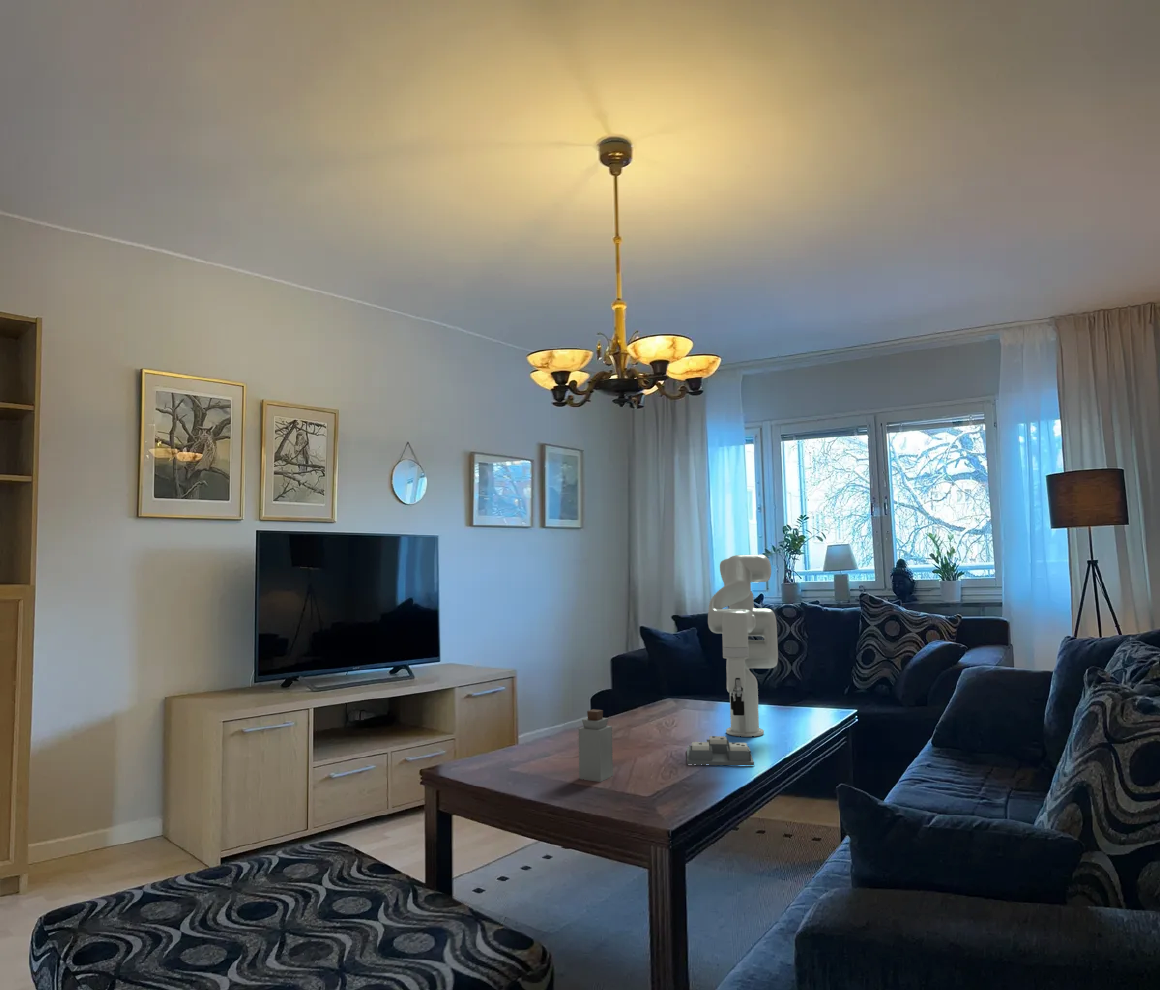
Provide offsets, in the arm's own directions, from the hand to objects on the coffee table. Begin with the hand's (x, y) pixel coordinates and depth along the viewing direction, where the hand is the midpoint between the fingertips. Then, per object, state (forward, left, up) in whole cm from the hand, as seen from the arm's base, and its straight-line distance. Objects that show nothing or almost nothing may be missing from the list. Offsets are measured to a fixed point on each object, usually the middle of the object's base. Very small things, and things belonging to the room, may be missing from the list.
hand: (737, 712), depth 233 cm
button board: (-4, -6, -14) cm, 16 cm away
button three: (0, 0, -11) cm, 11 cm away
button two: (-9, -6, -11) cm, 15 cm away
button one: (0, -11, -11) cm, 16 cm away
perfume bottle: (+20, -40, -15) cm, 47 cm away
